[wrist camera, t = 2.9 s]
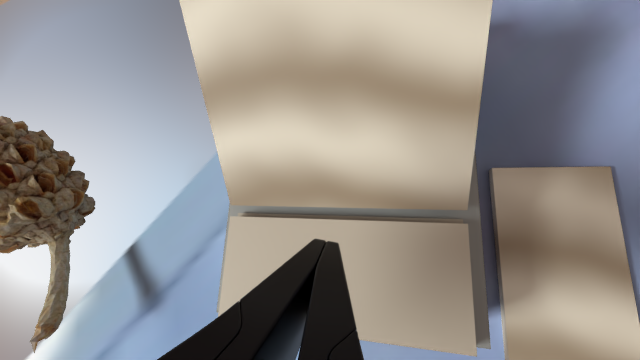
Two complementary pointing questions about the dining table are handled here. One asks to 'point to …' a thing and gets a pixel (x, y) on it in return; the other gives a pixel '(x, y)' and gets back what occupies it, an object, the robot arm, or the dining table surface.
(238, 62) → the board
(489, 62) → the dining table surface
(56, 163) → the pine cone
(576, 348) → the plank
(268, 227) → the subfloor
